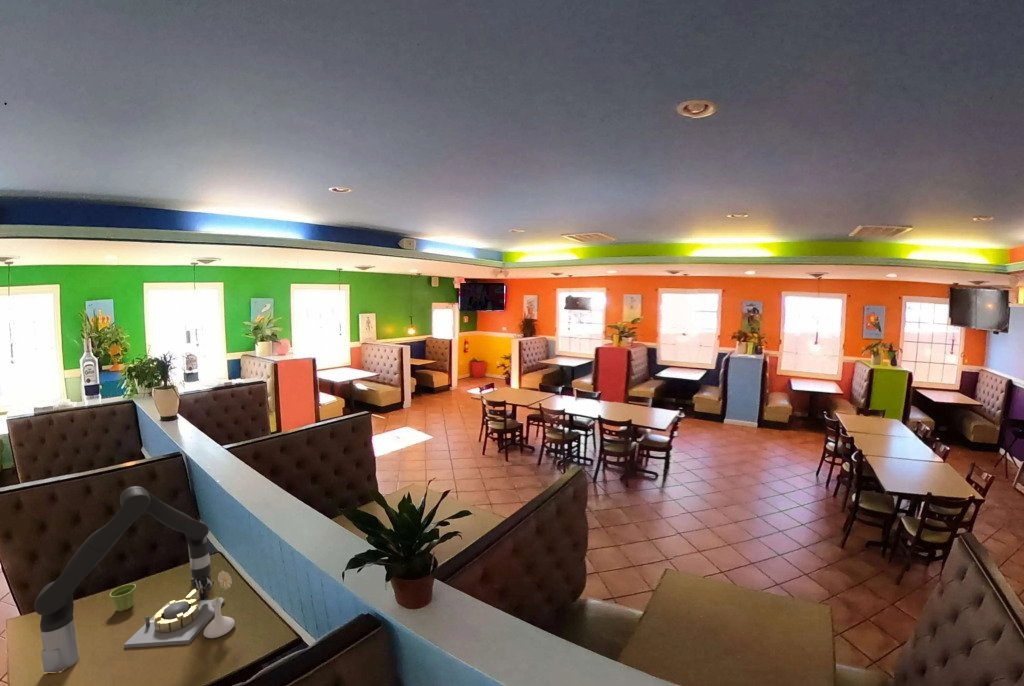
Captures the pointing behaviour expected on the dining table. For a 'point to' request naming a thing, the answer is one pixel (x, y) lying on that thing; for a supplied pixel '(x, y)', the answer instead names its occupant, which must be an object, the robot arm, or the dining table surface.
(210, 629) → the flower in vase
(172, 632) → the boss plate
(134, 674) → the dining table surface
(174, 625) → the segmented wooden ring
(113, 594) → the plant pot
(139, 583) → the dining table surface
